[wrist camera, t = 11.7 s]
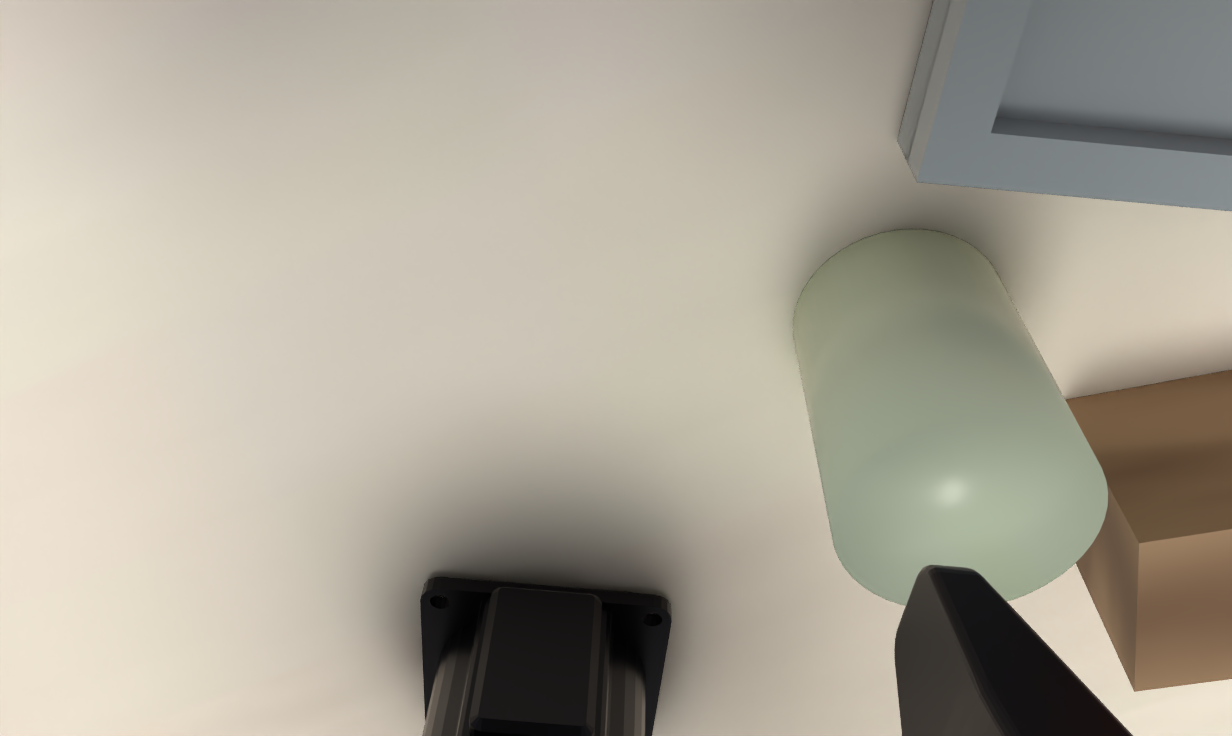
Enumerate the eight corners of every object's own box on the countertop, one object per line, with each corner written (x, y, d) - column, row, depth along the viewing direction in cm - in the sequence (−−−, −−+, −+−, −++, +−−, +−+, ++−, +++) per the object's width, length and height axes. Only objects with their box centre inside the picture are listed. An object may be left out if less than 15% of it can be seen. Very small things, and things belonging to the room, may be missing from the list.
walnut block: (1260, 508, 24) (1367, 661, 21) (1064, 538, 25) (1134, 691, 22) (1279, 358, 22) (1404, 502, 18) (1061, 398, 23) (1139, 543, 19)
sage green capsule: (970, 412, 23) (1054, 620, 18) (776, 395, 23) (809, 600, 18) (1033, 239, 20) (1151, 427, 15) (814, 219, 20) (864, 402, 15)
